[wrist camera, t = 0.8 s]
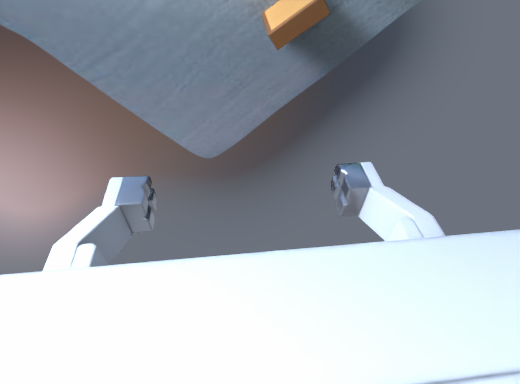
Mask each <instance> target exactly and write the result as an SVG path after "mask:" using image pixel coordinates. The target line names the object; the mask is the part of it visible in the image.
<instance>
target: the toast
mask: <svg viewBox="0 0 520 384" xmlns="http://www.w3.org/2000/svg"><path fill="white" fill-rule="evenodd" d="M329 14H330V12H329V9H328V7H327V5H326V2H325V0H279V1H277V2H276V3H275V4H273V5H272V6H271V7H269V8H268V9H267V10H265V11H264V12H263V13H261V15H262V18H263V21H264V24H265V27H266V30H267V33H268V35H269V37H270V39H271V40H272V42H273V44H274V45H275V47H276V49H277V50H279V49H280V48H281V47H283V46H284V45H286V44H287V43H289V42H290V41H292V40H293V39H294V38H296V37H297V36H299V35H300V34H302V33H303V32H304V31H306V30H307V29H309V28H310V27H312V26H313V25H315V24H316V23H317V22H319V21H320V20H322V19H323V18H325V17H326V16H328V15H329Z"/></svg>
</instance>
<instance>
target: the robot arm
mask: <svg viewBox="0 0 520 384" xmlns="http://www.w3.org/2000/svg"><path fill="white" fill-rule="evenodd" d="M334 171H335V174H336V175H335V176H334V177H333V178H332V181H331V191H332V195H333V198H334V199H336V200H337V204H336V206H337V209H338V211H339V214H340V216H358V217H360V218H361V219H362V220H363V221H364V222H365V223H366V224H367V225H368V226H369V227H371V228H372V229H373V230H374V231H375V232H376V233H377V234H378V235H379V236H380V237H382V238H383V239H384V240H385V241H384V242H372V243H361V244H350V245H338V246H326V247H315V248H303V249H292V250H281V251H269V252H257V253H246V254H236V255H223V256H212V257H201V258H189V259H178V260H166V261H155V262H143V263H132V264H120V265H108V264H109V263H110V262H111V261H112V259H113V258H114V257H115V256H116V254H117V253H118V252H119V251H120V249H121V248H122V247H123V246H124V245H125V243H126V242H127V241H128V240H129V238H130V237H131V236H132V235H133V234H132V233H140V232H149V231H153V227H154V220H155V218H154V215H153V213H154V212H155V211H156V205H157V203H156V194H155V190H154V189H153V188H151V184H152V181H151V179H150V177H149V176H135V177H119V178H118V177H117V178H111V179H110V181H109V184H108V187H107V191H106V194H105V197H104V200H103V204H102V207H97V208H96V209H95V210H94V211H93V212H92V213H91V214H89V215H88V216H87V217H86V218H85V219H84V220H82V221H81V222H80V223H79V224H78V225H76V226H75V227H74V228H73V229H72V230H71V231H69V232H68V233H67V234H66V235H65V236H64V237H62V238H61V239H60V240H59V241H58V242H56V243H55V244H54V245H53V247H52V249H51V252H50V254H49V257H48V259H47V262H46V264H45V267H44V269H43V271H40V272H29V273H19V274H18V273H17V274H6V275H0V384H520V230H509V231H498V232H487V233H476V234H464V235H452V236H445V234H444V233H443V231H442V229H441V228H440V226H439V225H438V223H437V222H436V220H435V218H434V217H433V215H431V214H430V213H428V212H426V211H425V210H423V209H422V208H420V207H418V206H417V205H416V204H414V203H412V202H411V201H409V200H408V199H406V198H405V197H403V196H401V195H400V194H398V193H397V192H395V191H394V190H392V189H390V188H389V187H384V185H383V183H382V181H381V179H380V177H379V176H378V174H377V172H376V171H375V169H374V167H373V165H372V163H370V162H361V163H348V164H337V165H336V167H335V170H334Z"/></svg>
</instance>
